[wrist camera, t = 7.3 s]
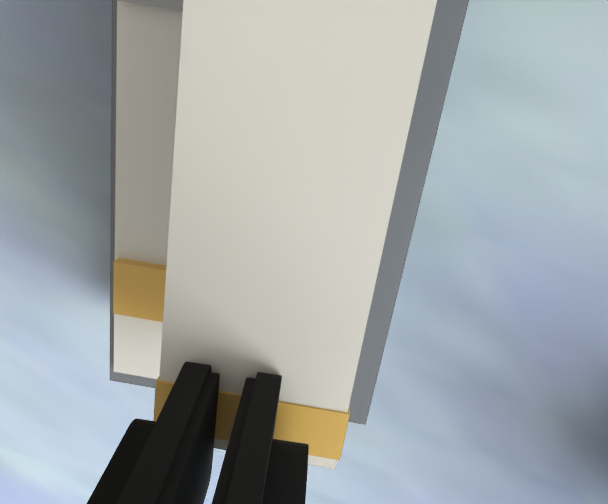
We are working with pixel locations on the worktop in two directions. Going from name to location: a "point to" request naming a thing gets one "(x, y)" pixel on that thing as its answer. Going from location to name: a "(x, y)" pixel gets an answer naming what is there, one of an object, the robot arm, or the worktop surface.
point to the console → (158, 182)
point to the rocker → (285, 198)
